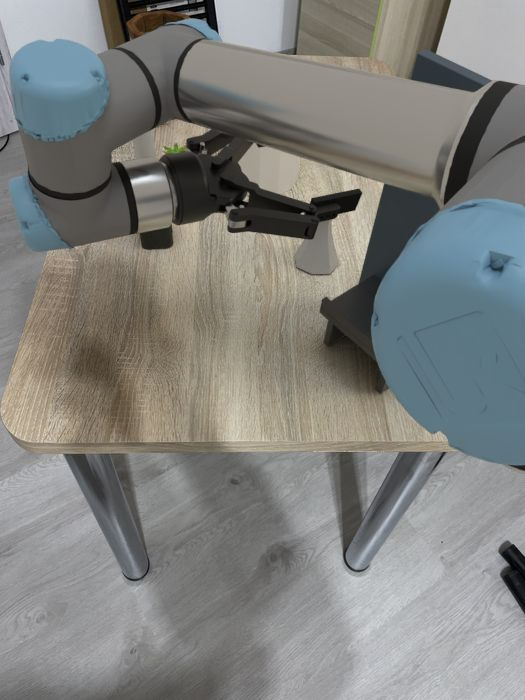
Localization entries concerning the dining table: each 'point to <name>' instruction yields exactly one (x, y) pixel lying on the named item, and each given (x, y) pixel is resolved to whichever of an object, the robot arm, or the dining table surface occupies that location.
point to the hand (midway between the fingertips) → (329, 163)
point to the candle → (158, 237)
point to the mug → (152, 22)
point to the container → (270, 168)
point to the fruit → (175, 150)
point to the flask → (318, 251)
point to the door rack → (391, 226)
